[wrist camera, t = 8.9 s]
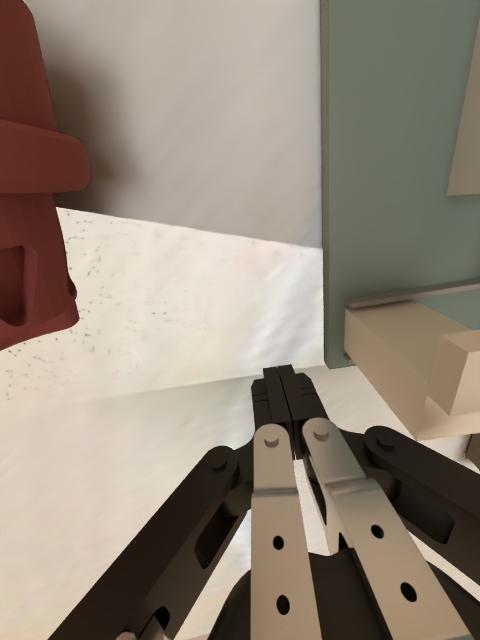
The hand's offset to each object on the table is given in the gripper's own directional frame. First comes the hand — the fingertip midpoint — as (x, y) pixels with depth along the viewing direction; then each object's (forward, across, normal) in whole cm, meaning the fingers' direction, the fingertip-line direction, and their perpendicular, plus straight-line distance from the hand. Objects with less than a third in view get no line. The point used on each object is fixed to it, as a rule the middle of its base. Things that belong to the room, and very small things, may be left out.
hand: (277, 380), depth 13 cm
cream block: (+4, -7, 0) cm, 8 cm away
